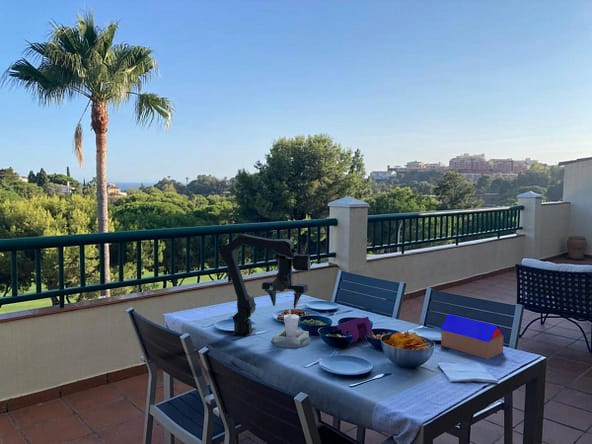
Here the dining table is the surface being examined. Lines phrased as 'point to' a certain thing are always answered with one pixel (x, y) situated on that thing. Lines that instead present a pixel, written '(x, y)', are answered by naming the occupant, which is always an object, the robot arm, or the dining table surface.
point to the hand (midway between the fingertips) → (284, 307)
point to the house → (472, 337)
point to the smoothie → (291, 324)
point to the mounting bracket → (356, 328)
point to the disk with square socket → (292, 339)
